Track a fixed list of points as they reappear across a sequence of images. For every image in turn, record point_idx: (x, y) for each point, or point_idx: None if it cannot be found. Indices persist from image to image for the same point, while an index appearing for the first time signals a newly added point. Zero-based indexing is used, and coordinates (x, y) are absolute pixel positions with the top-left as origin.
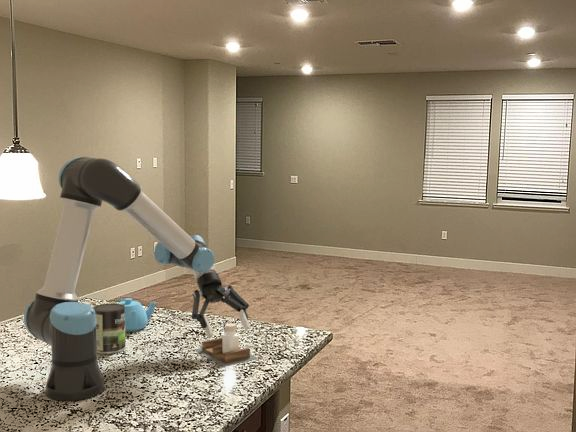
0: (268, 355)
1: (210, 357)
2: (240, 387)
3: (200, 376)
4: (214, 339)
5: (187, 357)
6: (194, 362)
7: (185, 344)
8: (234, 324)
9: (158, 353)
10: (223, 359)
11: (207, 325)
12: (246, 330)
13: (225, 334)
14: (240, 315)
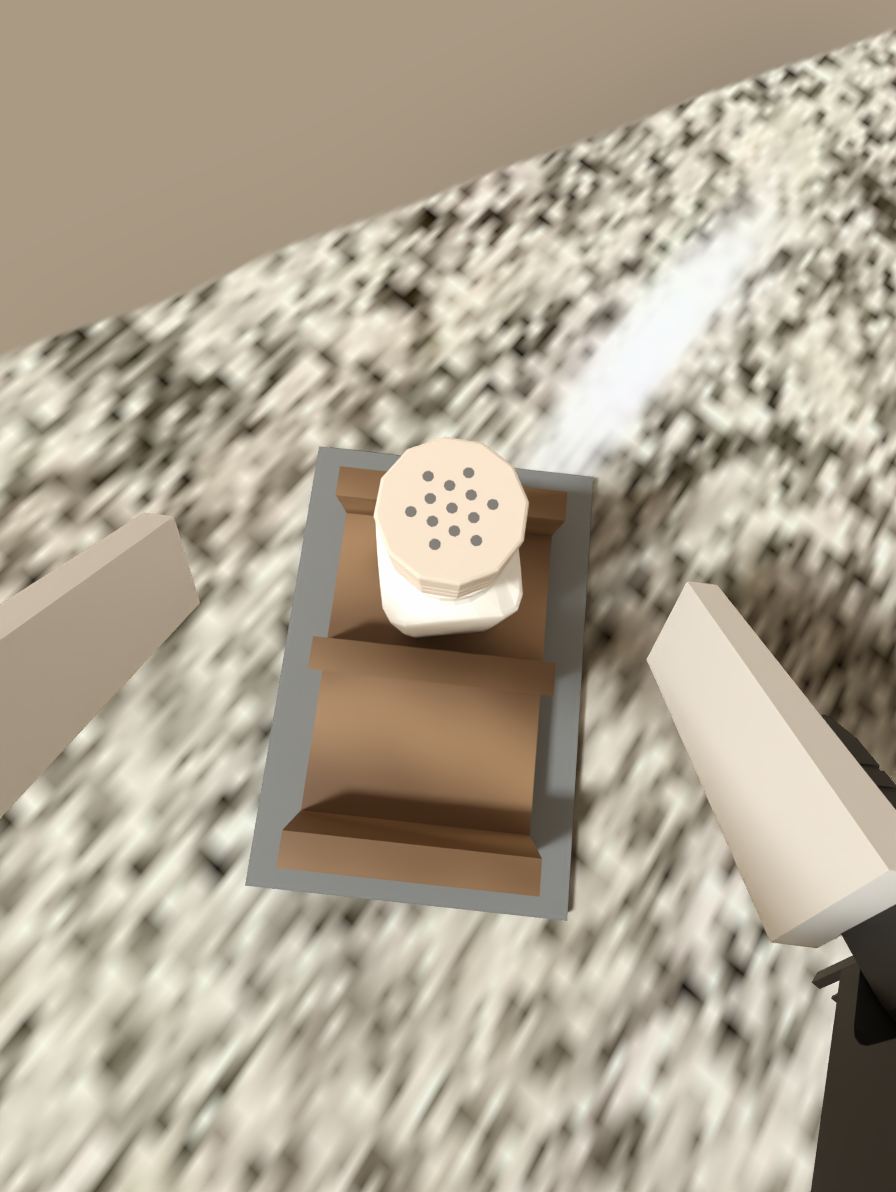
0: (217, 471)
1: (561, 677)
2: (673, 222)
3: (771, 468)
4: (413, 868)
5: (674, 815)
6: None
7: (528, 1121)
8: (398, 482)
9: (816, 1061)
10: (552, 534)
11: (789, 687)
12: (186, 590)
13: (497, 581)
14: (12, 738)
